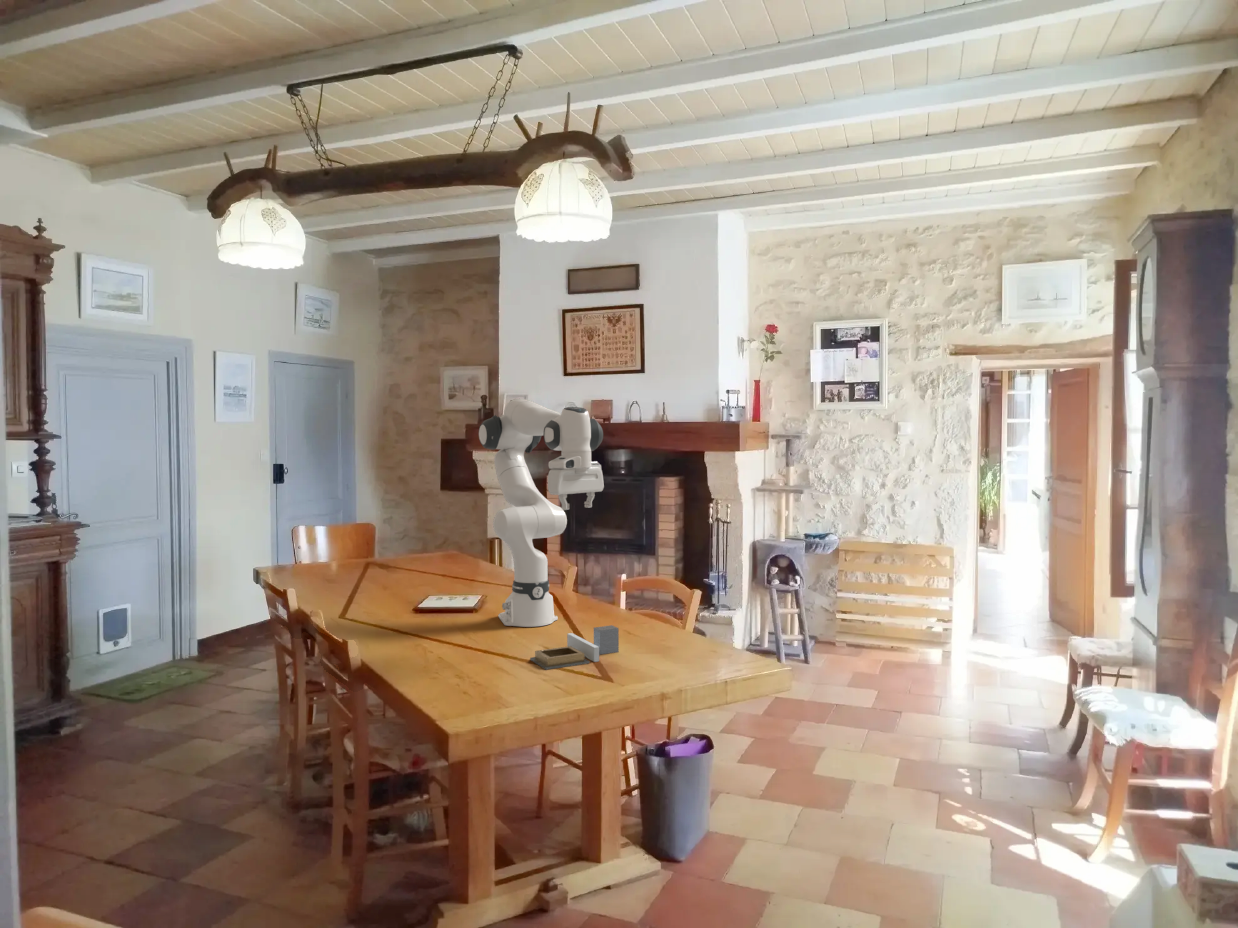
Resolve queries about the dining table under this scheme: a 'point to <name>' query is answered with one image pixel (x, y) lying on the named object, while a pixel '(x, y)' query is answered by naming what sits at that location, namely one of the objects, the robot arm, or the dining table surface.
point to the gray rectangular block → (607, 639)
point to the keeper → (559, 657)
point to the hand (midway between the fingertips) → (577, 508)
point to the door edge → (583, 647)
